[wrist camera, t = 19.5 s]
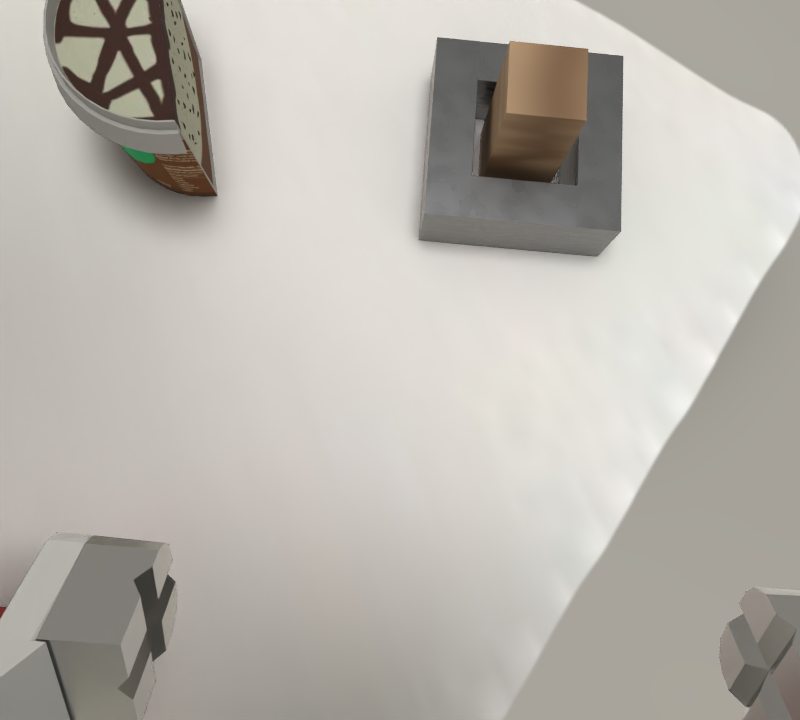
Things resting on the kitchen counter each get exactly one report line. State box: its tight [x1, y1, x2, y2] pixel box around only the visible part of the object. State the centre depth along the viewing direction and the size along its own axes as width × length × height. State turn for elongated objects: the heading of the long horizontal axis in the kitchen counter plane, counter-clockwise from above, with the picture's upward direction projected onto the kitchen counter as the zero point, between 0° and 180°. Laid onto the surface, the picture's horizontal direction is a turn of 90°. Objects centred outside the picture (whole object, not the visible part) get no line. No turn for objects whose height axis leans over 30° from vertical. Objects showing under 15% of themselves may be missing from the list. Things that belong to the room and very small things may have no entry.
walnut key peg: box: [478, 41, 588, 183], centre depth 39 cm, size 4×4×9 cm
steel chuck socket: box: [419, 37, 623, 256], centre depth 41 cm, size 11×11×4 cm
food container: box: [43, 0, 217, 197], centre depth 38 cm, size 12×6×10 cm, turn 9°
